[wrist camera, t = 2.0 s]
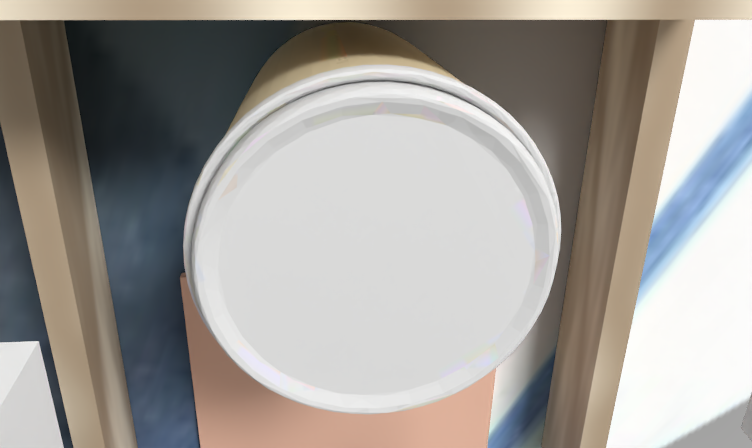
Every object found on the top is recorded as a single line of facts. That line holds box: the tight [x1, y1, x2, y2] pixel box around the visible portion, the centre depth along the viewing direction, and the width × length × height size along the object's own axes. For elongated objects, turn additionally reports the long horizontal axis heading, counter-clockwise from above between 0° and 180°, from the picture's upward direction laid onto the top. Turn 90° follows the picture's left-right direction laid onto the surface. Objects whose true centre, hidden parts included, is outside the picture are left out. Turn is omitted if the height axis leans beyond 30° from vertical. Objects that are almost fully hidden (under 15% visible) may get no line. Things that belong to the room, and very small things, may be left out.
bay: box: [0, 0, 752, 448], centre depth 25 cm, size 22×24×10 cm
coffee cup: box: [183, 22, 561, 414], centre depth 22 cm, size 9×9×12 cm
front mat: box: [180, 273, 496, 448], centre depth 32 cm, size 14×11×1 cm
